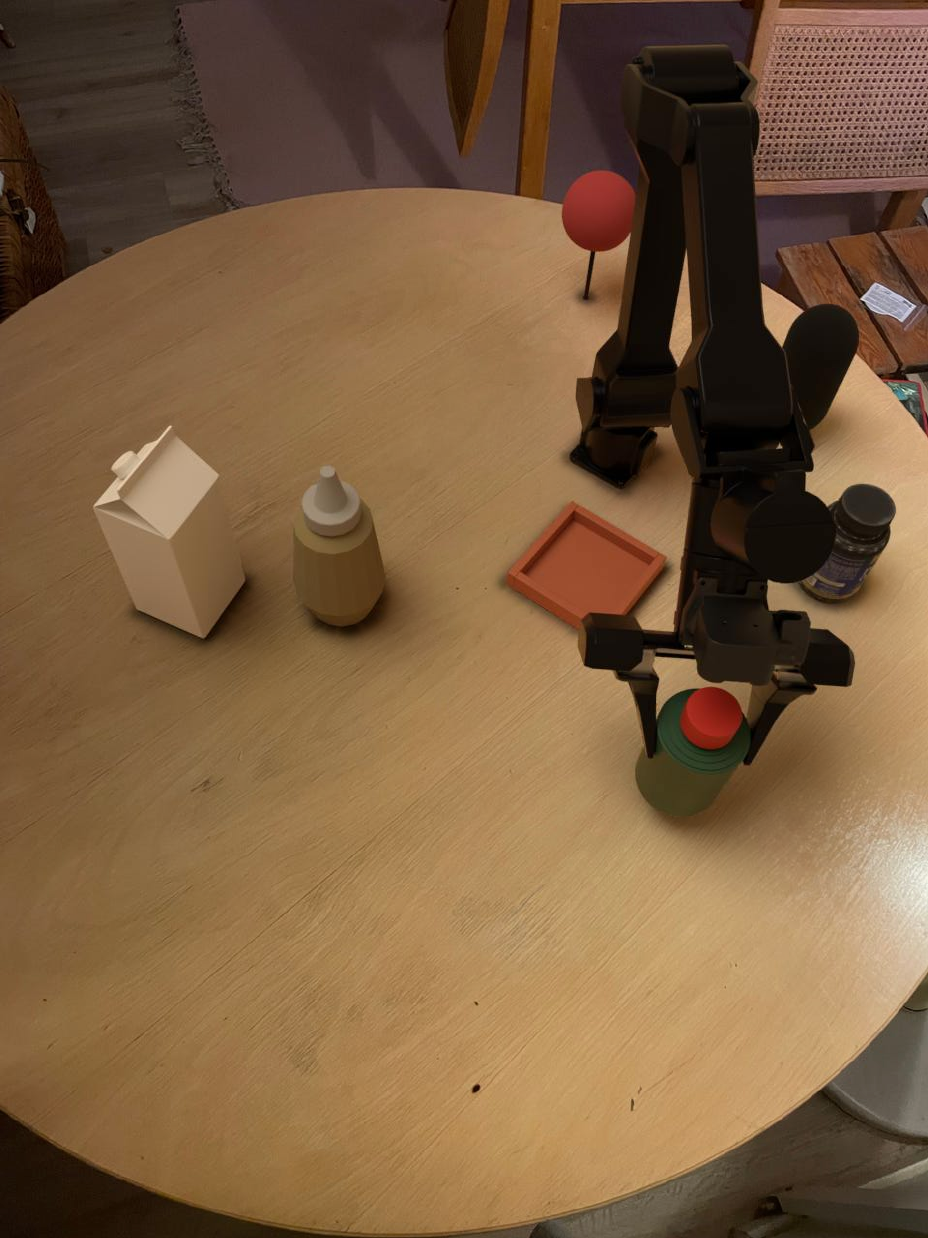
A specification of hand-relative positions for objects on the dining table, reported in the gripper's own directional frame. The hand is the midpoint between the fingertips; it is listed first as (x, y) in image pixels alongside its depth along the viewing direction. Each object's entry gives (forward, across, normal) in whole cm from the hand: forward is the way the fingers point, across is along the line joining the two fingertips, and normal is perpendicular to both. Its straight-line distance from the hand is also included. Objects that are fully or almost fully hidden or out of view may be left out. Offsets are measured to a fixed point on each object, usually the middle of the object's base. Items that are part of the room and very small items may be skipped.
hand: (697, 760), depth 76 cm
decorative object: (-23, +14, +38) cm, 47 cm away
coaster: (-8, -7, +23) cm, 26 cm away
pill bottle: (-10, +16, +25) cm, 31 cm away
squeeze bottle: (-5, -29, +20) cm, 36 cm away
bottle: (+4, 0, +6) cm, 7 cm away
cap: (-5, 0, -3) cm, 5 cm away
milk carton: (-5, -43, +20) cm, 47 cm away
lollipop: (-35, -7, +51) cm, 62 cm away
